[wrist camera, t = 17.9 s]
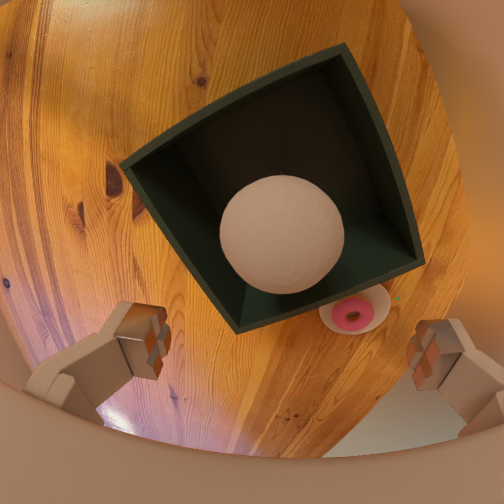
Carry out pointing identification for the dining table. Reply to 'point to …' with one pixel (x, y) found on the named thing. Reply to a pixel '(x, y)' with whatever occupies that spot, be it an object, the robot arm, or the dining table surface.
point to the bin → (292, 164)
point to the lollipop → (282, 234)
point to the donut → (357, 311)
